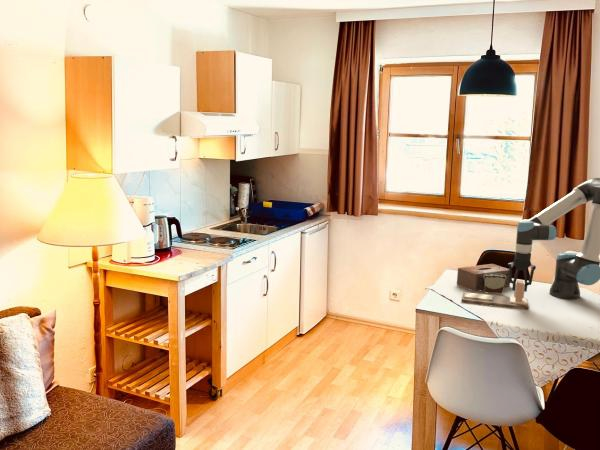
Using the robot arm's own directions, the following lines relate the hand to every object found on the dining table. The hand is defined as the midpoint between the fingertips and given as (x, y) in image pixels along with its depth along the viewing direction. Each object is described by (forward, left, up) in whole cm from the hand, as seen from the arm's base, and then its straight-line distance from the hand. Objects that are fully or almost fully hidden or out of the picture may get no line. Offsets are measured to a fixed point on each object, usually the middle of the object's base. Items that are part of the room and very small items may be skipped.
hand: (518, 297), depth 304 cm
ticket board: (+11, 0, -4) cm, 12 cm away
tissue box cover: (+18, -30, -5) cm, 35 cm away
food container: (+12, -20, -4) cm, 24 cm away
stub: (0, 0, -3) cm, 3 cm away
